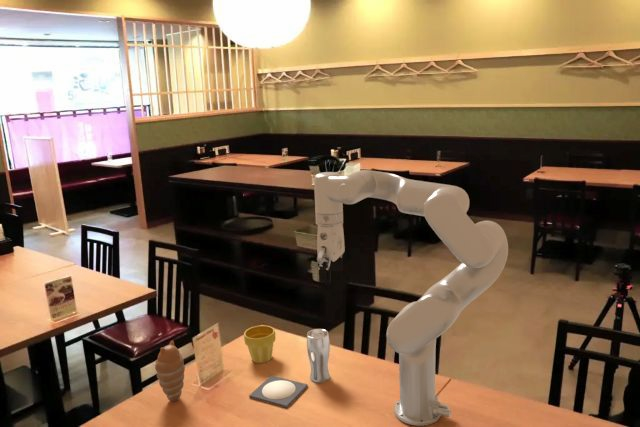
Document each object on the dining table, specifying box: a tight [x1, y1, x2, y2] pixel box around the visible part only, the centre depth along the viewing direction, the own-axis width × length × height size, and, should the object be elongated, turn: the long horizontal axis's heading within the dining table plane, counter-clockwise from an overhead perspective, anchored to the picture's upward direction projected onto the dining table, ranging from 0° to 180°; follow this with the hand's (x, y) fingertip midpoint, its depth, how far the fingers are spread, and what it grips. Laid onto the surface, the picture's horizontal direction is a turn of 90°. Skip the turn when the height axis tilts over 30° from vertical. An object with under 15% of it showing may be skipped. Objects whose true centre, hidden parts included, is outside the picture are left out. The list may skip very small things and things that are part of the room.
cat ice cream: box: [154, 340, 186, 402], centre depth 154 cm, size 9×8×18 cm
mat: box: [248, 375, 309, 409], centre depth 157 cm, size 13×12×1 cm
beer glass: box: [306, 328, 331, 384], centre depth 162 cm, size 7×7×15 cm
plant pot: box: [243, 324, 276, 364], centre depth 177 cm, size 10×10×10 cm
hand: (331, 276), depth 148 cm, fingers open, 9 cm apart
